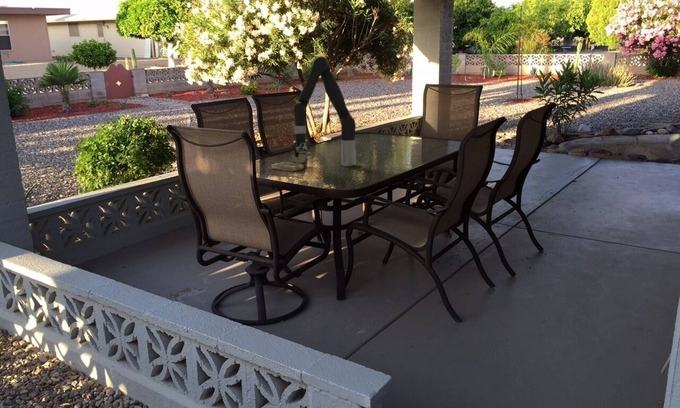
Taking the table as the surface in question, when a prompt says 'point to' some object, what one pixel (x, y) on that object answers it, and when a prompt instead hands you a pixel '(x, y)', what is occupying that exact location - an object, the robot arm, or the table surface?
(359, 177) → the table surface
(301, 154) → the food container
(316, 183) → the table surface
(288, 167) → the tray
